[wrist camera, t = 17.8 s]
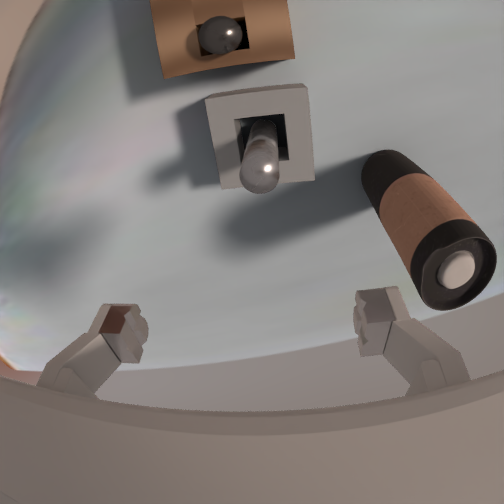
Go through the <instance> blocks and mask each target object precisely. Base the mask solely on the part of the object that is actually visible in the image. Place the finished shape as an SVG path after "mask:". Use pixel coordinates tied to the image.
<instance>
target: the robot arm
mask: <svg viewBox="0 0 504 504" xmlns="http://www.w3.org/2000/svg"><path fill="white" fill-rule="evenodd" d="M355 301H356V306H355V307H354V313H353V322H354V328H355V333H356V334H358V335H359V336H358V347H359V351H360V356H361V357H364V356H373V355H382V354H383V356H384V357H385V358H386V359H387V360H388V361H389V363H390V364H391V365H392V366H393V367H394V368H395V369H396V370H397V371H398V372H399V373H400V374H401V375H402V376H403V377H404V378H405V380H406V381H407V382H408V383H409V384H410V387H409V389H408V391H407V393H406V395H405V396H403V397H398V398H392V399H387V400H381V401H374V402H368V403H361V404H353V405H345V406H336V407H326V408H315V409H302V410H285V411H255V412H254V411H253V412H252V411H248V412H237V411H233V412H230V411H200V410H182V409H168V408H158V407H149V406H139V405H132V404H124V403H118V402H111V401H104V400H100V399H99V398H98V397H97V396H96V395H95V394H94V393H95V392H96V391H97V390H98V388H100V386H101V385H102V384H103V383H104V382H105V381H106V380H107V379H108V378H109V377H110V376H111V374H112V373H113V372H114V371H115V370H116V369H117V368H118V367H119V366H120V365H121V363H139V362H140V359H141V356H142V353H143V348H142V345H143V344H144V343H145V342H146V341H147V338H148V325H147V322H146V320H145V318H143V317H142V316H141V315H140V312H141V310H140V308H139V306H138V305H137V304H103V305H101V307H100V309H99V311H98V313H97V315H96V317H95V319H94V321H93V323H92V325H91V327H90V329H89V331H88V333H84V334H82V335H81V336H80V337H79V338H77V339H76V340H75V341H74V342H72V343H71V344H70V345H69V346H67V347H66V348H65V349H64V350H63V351H61V352H60V353H59V354H58V355H56V356H55V357H54V358H53V359H51V360H50V361H49V362H48V363H47V364H46V366H45V368H44V370H43V372H42V374H41V376H40V379H39V381H38V383H37V385H36V386H35V385H31V384H27V383H24V382H20V381H17V380H13V379H10V378H7V377H4V376H0V504H504V370H502V371H499V372H496V373H493V374H489V375H486V376H483V377H480V378H477V379H473V380H471V379H470V377H469V374H468V371H467V368H466V366H465V363H464V361H463V358H462V356H461V353H460V352H459V351H458V350H456V349H455V348H453V347H452V346H451V345H450V344H448V343H447V342H446V341H444V340H443V339H442V338H441V337H439V336H438V335H437V334H435V333H434V332H433V331H431V330H430V329H429V328H427V327H426V326H424V325H423V324H422V323H420V322H419V321H418V320H416V319H415V318H412V319H411V318H410V315H409V313H408V310H407V308H406V305H405V303H404V300H403V298H402V295H401V293H400V291H399V288H398V287H397V286H392V287H384V288H376V289H367V290H358V291H356V295H355Z"/></svg>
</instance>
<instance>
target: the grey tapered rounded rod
mask: <svg viewBox="0 0 504 504" xmlns="http://www.w3.org/2000/svg"><path fill="white" fill-rule="evenodd" d="M279 177H280V173H279V157H278V141H277V129H276V126H275V124H274V123H273V122H271V121H270V120H267V119H260V120H257V121H256V122H255V123H254V124H253V125H252V127H251V130H250V134H249V138H248V141H247V145H246V149H245V153H244V157H243V160H242V164H241V168H240V172H239V178H240V181H241V183H242V185H243V186H244V187H245V188H246V189H247V190H249V191H250V192H253V193H257V194H262V193H267V192H269V191H271V190H272V189H274V188H275V187H276V185H277V184H278V181H279Z"/></svg>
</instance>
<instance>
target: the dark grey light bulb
mask: <svg viewBox="0 0 504 504" xmlns="http://www.w3.org/2000/svg"><path fill="white" fill-rule="evenodd" d="M198 37H199V42H200V44H201V46H202V47H203V48H204V49H205V50H206V51H208V52H210V53H213V54H227V53H230V52H232V51H234V50H235V49H237V48H238V47H239V46H240V45H241V43H242V29H241V27H240V26H239V24H238V23H237V22H236V21H235V20H233V19H232V18H230V17H227V16H215V17H212V18H210V19H208V20H207V21H205V22H204V23H203V24H202V26H201V28H200V30H199V34H198Z"/></svg>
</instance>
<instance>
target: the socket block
mask: <svg viewBox="0 0 504 504" xmlns="http://www.w3.org/2000/svg"><path fill="white" fill-rule="evenodd" d="M150 6H151V12H152V18H153V23H154V29H155V35H156V40H157V46H158V51H159V57H160V62H161V67H162V72H163V77H164V79H167V78H171V77H175V76H180V75H184V74H189V73H194V72H199V71H204V70H209V69H215V68H221V67H227V66H233V65H240V64H247V63H255V62H264V61H274V60H285V59H295V53H294V46H293V38H292V31H291V24H290V18H289V11H288V5H287V0H150ZM215 16H227V17H230V18H232V19H233V20H235V21H236V22H237V23H238V24H239V26H242V25H246V26H247V33H248V39H249V46H250V49H243V50H236V51H232V52H230V53H227V54H213V53H210V52H208V51H206V50H205V49H204V48H203V47H202V46H201V44H200V42H199V37H198V34H199V30H200V28H201V26H202V24H203V23H204V22H205V21H207V20H208V19H210V18H212V17H215Z"/></svg>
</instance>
